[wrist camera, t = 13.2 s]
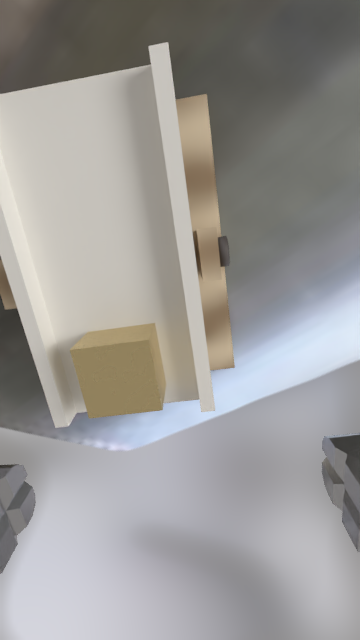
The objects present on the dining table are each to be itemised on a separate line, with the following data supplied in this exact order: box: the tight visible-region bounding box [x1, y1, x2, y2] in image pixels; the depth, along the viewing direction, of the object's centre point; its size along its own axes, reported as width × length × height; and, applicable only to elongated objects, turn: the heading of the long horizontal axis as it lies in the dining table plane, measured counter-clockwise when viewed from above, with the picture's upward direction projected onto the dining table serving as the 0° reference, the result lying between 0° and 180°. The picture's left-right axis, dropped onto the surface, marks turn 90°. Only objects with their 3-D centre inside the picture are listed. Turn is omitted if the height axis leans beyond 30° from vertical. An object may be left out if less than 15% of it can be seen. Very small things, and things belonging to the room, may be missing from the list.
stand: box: [0, 94, 235, 370], centre depth 26 cm, size 26×20×8 cm
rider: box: [70, 323, 166, 418], centre depth 24 cm, size 6×6×4 cm
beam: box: [0, 42, 215, 428], centre depth 23 cm, size 26×14×4 cm, turn 8°
